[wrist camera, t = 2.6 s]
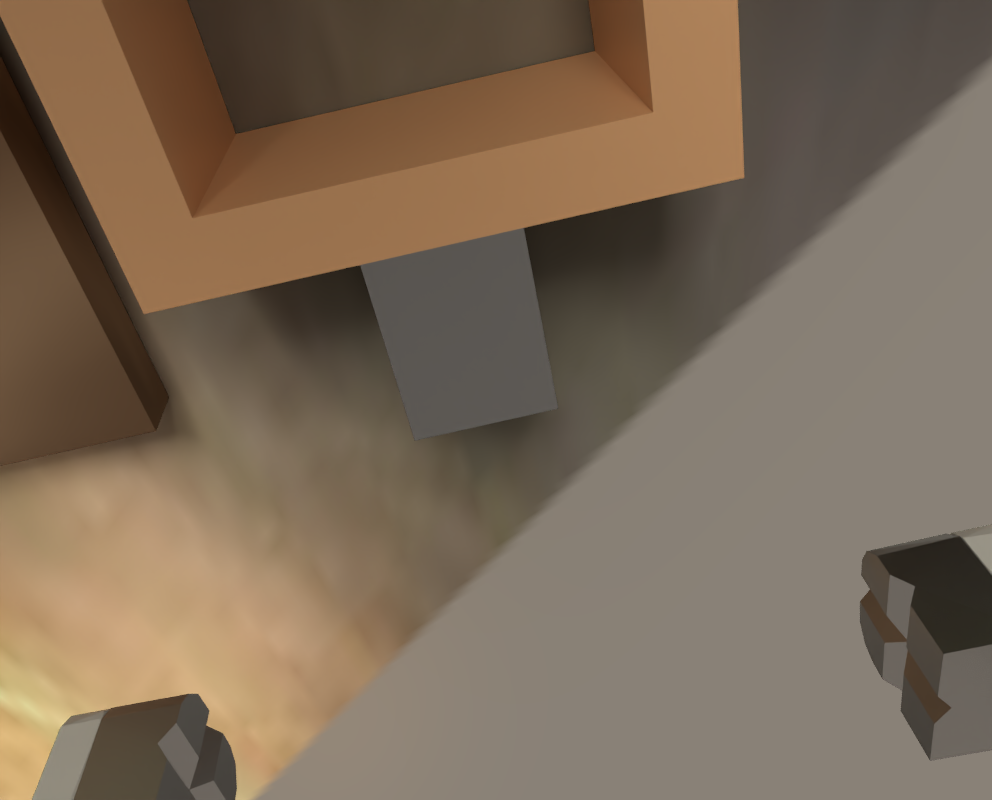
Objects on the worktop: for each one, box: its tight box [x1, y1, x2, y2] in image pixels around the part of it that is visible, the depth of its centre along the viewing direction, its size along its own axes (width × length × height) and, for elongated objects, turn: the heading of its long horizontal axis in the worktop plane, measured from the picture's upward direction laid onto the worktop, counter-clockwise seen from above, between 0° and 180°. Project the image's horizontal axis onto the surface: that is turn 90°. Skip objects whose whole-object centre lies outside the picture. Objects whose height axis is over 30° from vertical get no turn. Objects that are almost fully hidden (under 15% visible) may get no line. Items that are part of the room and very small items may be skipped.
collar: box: [0, 0, 744, 440], centre depth 16 cm, size 15×11×5 cm
